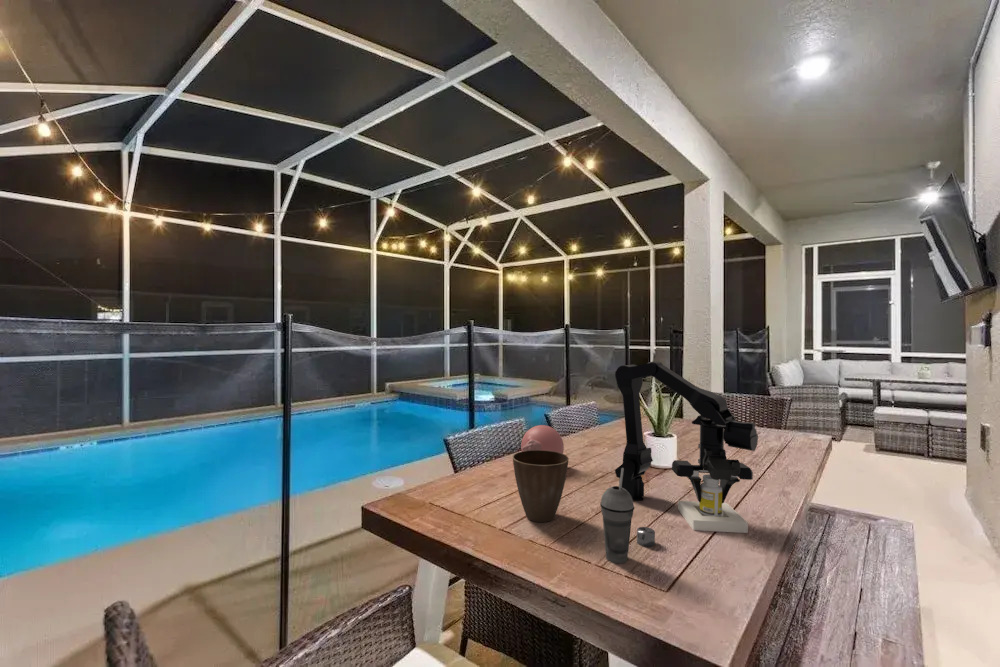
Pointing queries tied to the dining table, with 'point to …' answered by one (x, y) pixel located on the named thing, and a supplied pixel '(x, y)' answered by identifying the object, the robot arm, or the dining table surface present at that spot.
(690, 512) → the hole plate
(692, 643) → the dining table surface
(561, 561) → the dining table surface
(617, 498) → the beverage cup
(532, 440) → the balloon
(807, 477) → the dining table surface
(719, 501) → the supplement bottle
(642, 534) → the short metal stub
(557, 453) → the plant pot
